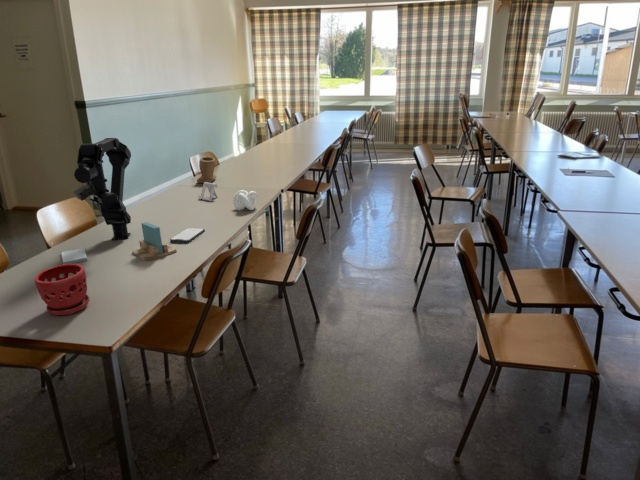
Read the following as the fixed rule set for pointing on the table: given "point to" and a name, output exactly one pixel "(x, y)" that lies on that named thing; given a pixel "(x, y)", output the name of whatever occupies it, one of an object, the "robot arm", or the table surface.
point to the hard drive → (74, 256)
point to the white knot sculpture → (244, 199)
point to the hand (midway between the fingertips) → (103, 216)
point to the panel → (152, 235)
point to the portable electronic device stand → (211, 191)
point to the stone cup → (206, 169)
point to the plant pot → (63, 289)
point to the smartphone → (187, 235)
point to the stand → (152, 251)
